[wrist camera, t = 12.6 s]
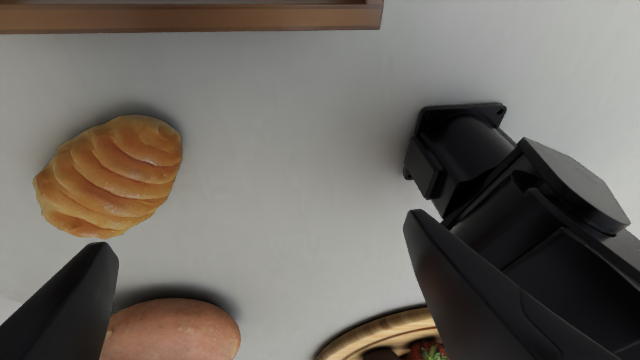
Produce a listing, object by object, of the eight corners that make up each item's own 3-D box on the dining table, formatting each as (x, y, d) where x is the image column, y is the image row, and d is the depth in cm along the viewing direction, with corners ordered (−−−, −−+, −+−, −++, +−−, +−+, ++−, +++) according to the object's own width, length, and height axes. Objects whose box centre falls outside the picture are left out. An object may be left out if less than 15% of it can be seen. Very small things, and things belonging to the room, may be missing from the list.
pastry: (110, 77, 17) (83, 113, 14) (213, 145, 21) (208, 183, 18) (35, 175, 20) (2, 219, 18) (137, 217, 24) (123, 259, 22)
